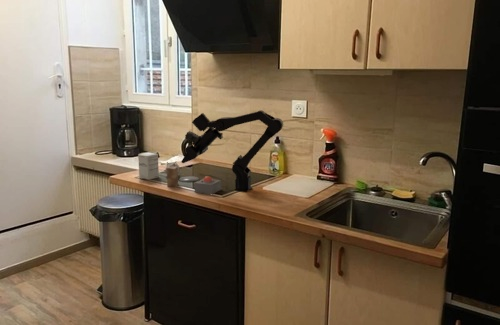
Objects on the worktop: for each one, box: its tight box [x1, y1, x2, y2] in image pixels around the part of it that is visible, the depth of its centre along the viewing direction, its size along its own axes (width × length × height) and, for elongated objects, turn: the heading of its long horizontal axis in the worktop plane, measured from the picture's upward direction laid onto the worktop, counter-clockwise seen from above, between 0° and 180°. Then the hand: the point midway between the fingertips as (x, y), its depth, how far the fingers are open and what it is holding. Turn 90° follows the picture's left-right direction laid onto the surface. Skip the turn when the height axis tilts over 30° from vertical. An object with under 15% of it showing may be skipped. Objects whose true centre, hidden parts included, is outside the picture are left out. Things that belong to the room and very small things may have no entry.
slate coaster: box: [178, 175, 200, 183], centre depth 212 cm, size 10×10×1 cm
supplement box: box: [137, 151, 160, 181], centre depth 214 cm, size 7×7×13 cm
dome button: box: [203, 175, 213, 183], centre depth 191 cm, size 4×4×6 cm
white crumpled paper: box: [163, 161, 183, 178], centre depth 217 cm, size 9×8×10 cm
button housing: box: [193, 178, 222, 195], centre depth 191 cm, size 9×9×4 cm
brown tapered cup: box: [166, 166, 179, 188], centre depth 199 cm, size 4×4×9 cm
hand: (185, 160), depth 196 cm, fingers open, 9 cm apart
